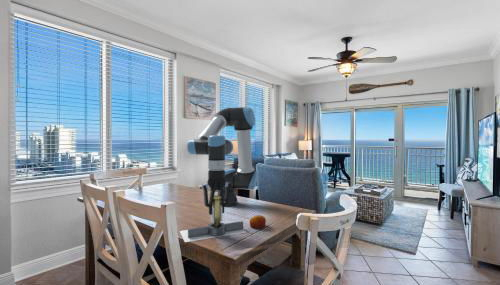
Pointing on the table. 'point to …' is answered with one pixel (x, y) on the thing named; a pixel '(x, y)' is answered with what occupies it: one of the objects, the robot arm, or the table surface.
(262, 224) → the fruit
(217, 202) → the pin
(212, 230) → the gray bar with ring
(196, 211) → the table surface
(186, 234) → the board
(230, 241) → the table surface
